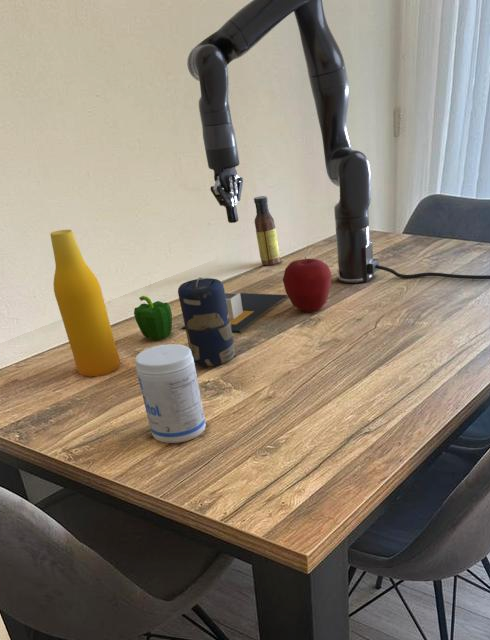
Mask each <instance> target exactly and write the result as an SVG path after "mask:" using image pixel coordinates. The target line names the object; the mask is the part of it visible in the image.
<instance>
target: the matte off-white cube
mask: <svg viewBox="0 0 490 640" xmlns="http://www.w3.org/2000/svg"><path fill="white" fill-rule="evenodd" d="M240 293H241V292H225V296H226V302H227V308H228V313H229V319H235V318H236V317H238V316H239V315H240V314H242V313H243V309H242V302H241V296H240Z"/></svg>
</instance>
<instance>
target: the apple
mask: <svg viewBox="0 0 490 640" xmlns="http://www.w3.org/2000/svg"><path fill="white" fill-rule="evenodd" d="M282 283H283V286H284V289H285V290H284V291H285V293H286V294H285V295H287V297H288V300H290V303H291V304H292V306H294V307H295V308H297V309H298V310H300V311H301V312H304V313H314V312H318V311H320V310H321V309H322V308H323V307H324V306H325V305H326V303H327V301H328V298H329V294H330V291H331V284H332V271H331V269H330V267H329V265H328V264H327V263H325V262H324V261H322V260H320V259H316V258H306V257H305V256H304V258H303V259H297V260H293V261H291V262H290V263H289V264H288V265H287V266H286V267H285V269H284V273H283V277H282Z"/></svg>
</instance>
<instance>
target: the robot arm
mask: <svg viewBox="0 0 490 640" xmlns="http://www.w3.org/2000/svg"><path fill="white" fill-rule="evenodd" d="M292 13H294V16H295V20H296V23H297V28H298V32H299V37H300V41H301V47H302V52H303V56H304V60H305V64H306V69H307V75H308V79H309V84H310V89H311V93H312V97H313V100H314V105H315V110H316V116H317V119H318V124H319V128H320V133H321V140H322V147H323V155H324V156H323V157H324V163H325V164H324V165H325V170H326V174H327V177H328V179H329V180H330V182H331V183H332V184H333V185H334V186H336V187H339V200H338V203H336V204H335V205H334V207H333V210H334V211H333V212H334V213H333V214H334V224H335V225H334V226H335V227H334V228H335V240H336V253H337V266H338V270H337V275H338V280H339V281H340V282H341V283H345V284H358V283H367V282H369V281H370V280H371V279H373V277H374V276H375V273H376V272H377V271H379V270H381V271H385V272H389V273H391V274H392V275H394V276H395V277H398V278H401V279H414V278H422V277H439V278H447V279H448V278H449V279H450V278H451V279H461V280H462V279H465V280H490V275H489V274H486V275H485V274H484V275H480V274H479V275H478V274H474V275H473V274H453V273H444V272H421V273H413V274H404V273H403V274H402V273H399V272H398V271H396V270H394V269H392V268H390V267H387V266H383V265H380V264H379V263H380V262H379V261H380V259H379V258H374V249H373V248H374V247H373V246H374V245H373V242H372V241H371V237H370V236H371V235H370V216H369V207H370V204H371V198H372V186H371V185H372V178H371V177H372V176H371V174H372V173H371V164H370V161H369V158H368V157H367V156H366V154H365V153H364V152H362V151H360V150H355V149H353V148H352V146H351V142H350V137H349V133H348V126H347V116H348V108H349V101H350V87H349V79H348V72H347V67H346V64H345V63H346V62H345V59H344V56H343V53H342V51H341V49H340V46H339V44H338V43H337V41H336V39H335V36H334V35H333V33H332V31H331V29H330V27H329V25H328V22H327V18H326V13H325V10H324V4H323V0H252V1H250V2H248V3H247V4H246V5H244V6H243V7H242V8H240V9H239V10H238V11H237V12H236V13H235V14H233V15H232V16H231V17H230V18H229V19H228V20H227V21H225V22H224V23H223V25H221V27H220V28H219V29H218V30H216V31H215V32H213V33H211V35H209V36H207V37H206V38H204V39H203V40H202V41H201V42H199V43H198V44H196V45H195V46H194V47H193V48H192V49H191V50H190V51H189V54H188V57H187V63H186V64H187V69H188V72H189V74H190V76H191V77H192V78H193V79H194V80H196V81H198V82H199V89H200V97H199V99H198V111H199V118H200V122H201V129H202V139H203V146H204V150H205V156H206V162H207V167H208V169H209V170H212V171H213V178H214V179H213V180H214V186H213V185H212V186H210V191H211V193H212V195H213V196H214V199H215V200H216V201H217V203H218V204H219V206H220V207H224V208H225V211H226V217H227V222H228V223H229V224H236V223H238V222H239V215H238V209H237V206H238V202H240V201H241V198H242V190H243V184H244V178H243V177H242V176H239V175H238V172H237V169H236V168H237V167H238V166H239V165H240V157H239V153H238V152H239V151H238V145H237V137H236V133H235V129H234V126H233V121H232V115H231V108H230V107H231V106H230V103H229V68H228V65H229V64H230V63H231V62H233V61H234V60H236V59H240V58H241V57H243V56H245V54H247V53H248V52H249V51H250V50H252V48H253V47H255V46H256V45H257V44H258V43H259V42H260V41H261V40H263V38H264V37H266V36H267V35H268V34H269V33H270V32H271V31H273V29H274V28H276V27H277V26H278V25H279V24H280V23H281V22H282V21H283V20H284V19H286V18H287V17H288V16H290V15H291V14H292Z"/></svg>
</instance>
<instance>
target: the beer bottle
mask: <svg viewBox="0 0 490 640" xmlns="http://www.w3.org/2000/svg"><path fill="white" fill-rule="evenodd" d="M49 236H50V241H51V246H52V251H53V257H54V263H55V269H54V276H53V294H54V297H55V300H56V304H57V306H58V309H59V313H60V316H61V320H62V322H63V326H64V329H65V334H66V336H67V339H68V342H69V346H70V349H71V353H72V356H73V361H74V363H75V366H76V369H77V371H78V373H79V374H80V376H83V377H100V376H104V375H108V374H111V373H113V372H115V371H116V370H118V369H119V367H120V365H121V360H120V358H121V357H120V355H119V352H118V351H119V350H118V349H117V345H116V342H115V337H114V334H113V329H112V325H111V322H110V318H109V314H108V311H107V307H106V302H105V299H104V295H103V292H102V288H101V285H100V283H99V280H98V278H97V276H96V275H95V273H94V272H93V271H92V269H91V268H90V267H89V266H88V264H87V262H85V260H84V257H83V255H82V253H81V250H80V248H79V245H78V242H77V239H76V237H75V234H74V232H73V230H72V229H61V230H60V229H59V230H55V231H52V232H50V235H49Z"/></svg>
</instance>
